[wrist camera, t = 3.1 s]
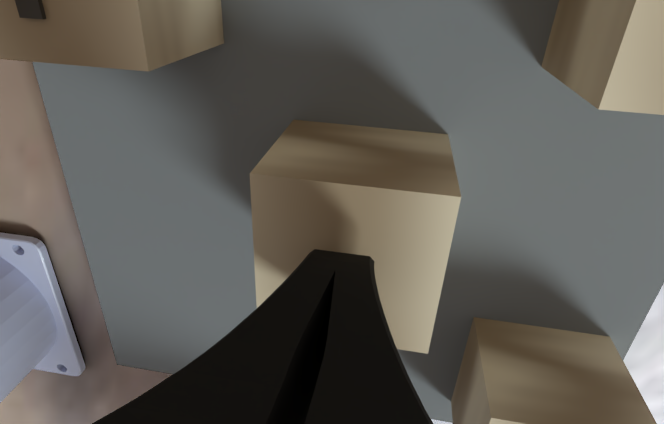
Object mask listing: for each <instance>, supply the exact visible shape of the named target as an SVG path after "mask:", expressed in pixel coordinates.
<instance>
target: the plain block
mask: <svg viewBox="0 0 664 424" xmlns="http://www.w3.org/2000/svg"><path fill="white" fill-rule="evenodd" d="M250 190H251V209H252V229H253V248H254V267H255V286H256V305H257V308H258V307H259V306H260V305H261V304H262V303H263V302H264V301H265V300H266V299H267V298H268V297H269V296H270V295H271V294H272V293H273V292H274V291H275V290H276V289H277V288H278V287H279V286H280V285H281V284H282V283H283V282H284V281H285V280H286V279H287V278H288V277H289V276H290V275H291V273H292V272H293V271H294V270H295V269H296V268H297V267H298V266H299V265H300V263H301V262H302V261H303V260H304V259H305V258H306V256H307V255H308V254H309V253H310V252H311V251H313V250H314V249H318V250H326V251H333V252H341V253H349V254H357V255H365V256H370V257H371V258H372V259H373V260H374V272H375V279H376V285H377V289H378V293H379V297H380V301H381V305H382V308H383V311H384V314H385V317H386V320H387V323H388V326H389V329H390V332H391V335H392V337H393V340H394V343H395V345H396V348H397V349H400V350H407V351H413V352H419V353H426V354H428V351H429V346H430V342H431V337H432V332H433V328H434V323H435V318H436V313H437V309H438V304H439V299H440V295H441V290H442V285H443V281H444V276H445V271H446V266H447V262H448V257H449V252H450V248H451V243H452V238H453V234H454V229H455V224H456V220H457V215H458V210H459V205H460V201H461V193H460V189H459V184H458V179H457V174H456V170H455V165H454V160H453V155H452V150H451V146H450V141H449V136H448V134H440V133H429V132H419V131H408V130H397V129H387V128H376V127H366V126H355V125H345V124H334V123H324V122H313V121H302V120H293V121H292V122H291V124H290V125H289V126H288V127H287V128H286V130H285V131H284V132H283V133H282V135H281V136H280V137H279V138H278V139H277V141H276V142H275V143H274V144H273V146H272V147H271V148H270V149H269V150H268V152H267V153H266V154H265V155H264V157H263V158H262V159H261V160H260V161H259V163H258V164H257V165H256V166H255V168H254V169H253V170H252V171H251V172H250Z"/></svg>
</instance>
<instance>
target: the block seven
mask: <svg viewBox="0 0 664 424" xmlns="http://www.w3.org/2000/svg"><path fill="white" fill-rule="evenodd" d="M541 67H542V68H543V69H545V70H546V71H547V72H549V73H550V74H551V75H553V76H554V77H555V78H557V79H558V80H559V81H561V82H562V83H563V84H565V85H566V86H567V87H569V88H570V89H572V90H573V91H574V92H576V93H577V94H578V95H580V96H581V97H582V98H584V99H585V100H586V101H588V102H589V103H590V104H592V105H593V106H594V107H596V108H597V109H599V110H611V111H622V112H634V113H646V114H658V115H664V0H559V3H558V7H557V10H556V14H555V18H554V21H553V25H552V29H551V33H550V36H549V40H548V44H547V47H546V51H545V55H544V59H543V62H542V66H541Z"/></svg>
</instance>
